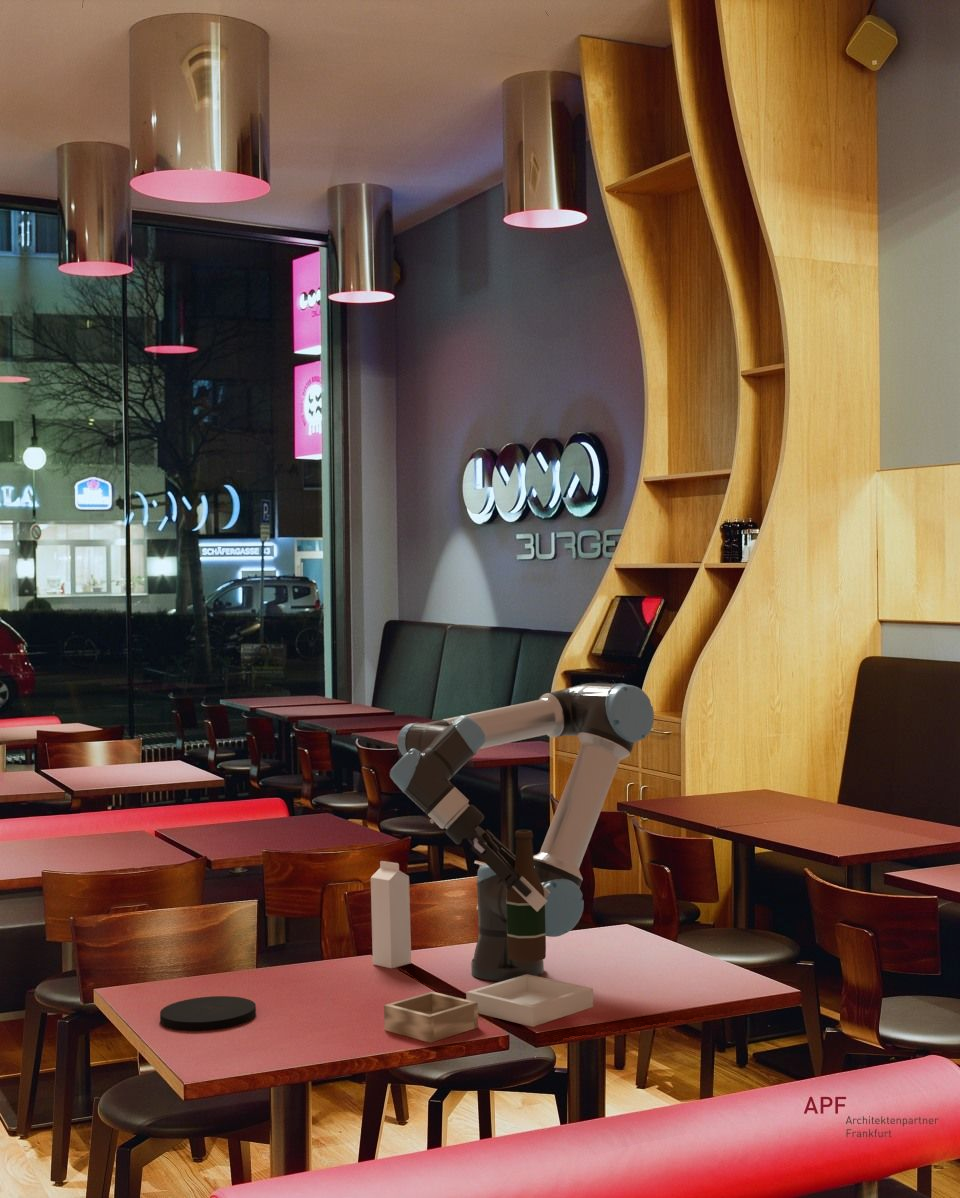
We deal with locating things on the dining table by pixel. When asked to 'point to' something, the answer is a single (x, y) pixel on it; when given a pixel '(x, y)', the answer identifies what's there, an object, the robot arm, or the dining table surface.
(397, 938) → the milk
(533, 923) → the beer bottle
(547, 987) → the tray
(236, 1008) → the wireless charger
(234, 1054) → the dining table surface
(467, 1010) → the box
